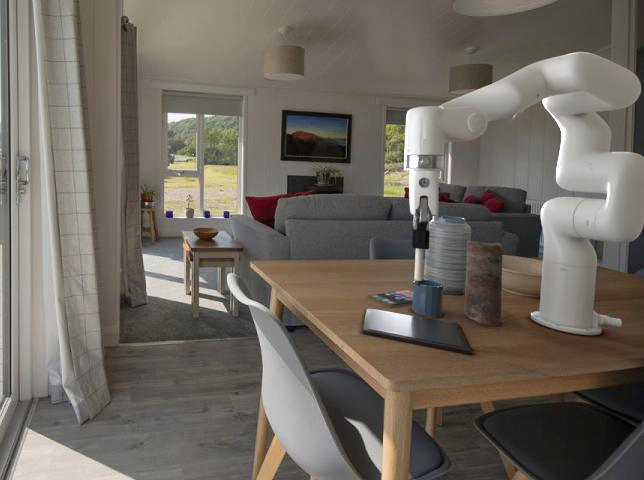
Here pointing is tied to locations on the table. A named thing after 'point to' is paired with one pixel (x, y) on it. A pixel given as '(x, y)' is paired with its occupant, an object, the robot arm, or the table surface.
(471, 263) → the candle
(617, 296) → the table surface
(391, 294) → the smartphone
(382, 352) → the table surface
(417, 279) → the stylus
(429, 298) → the pen cup
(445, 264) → the vase
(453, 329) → the tablet
